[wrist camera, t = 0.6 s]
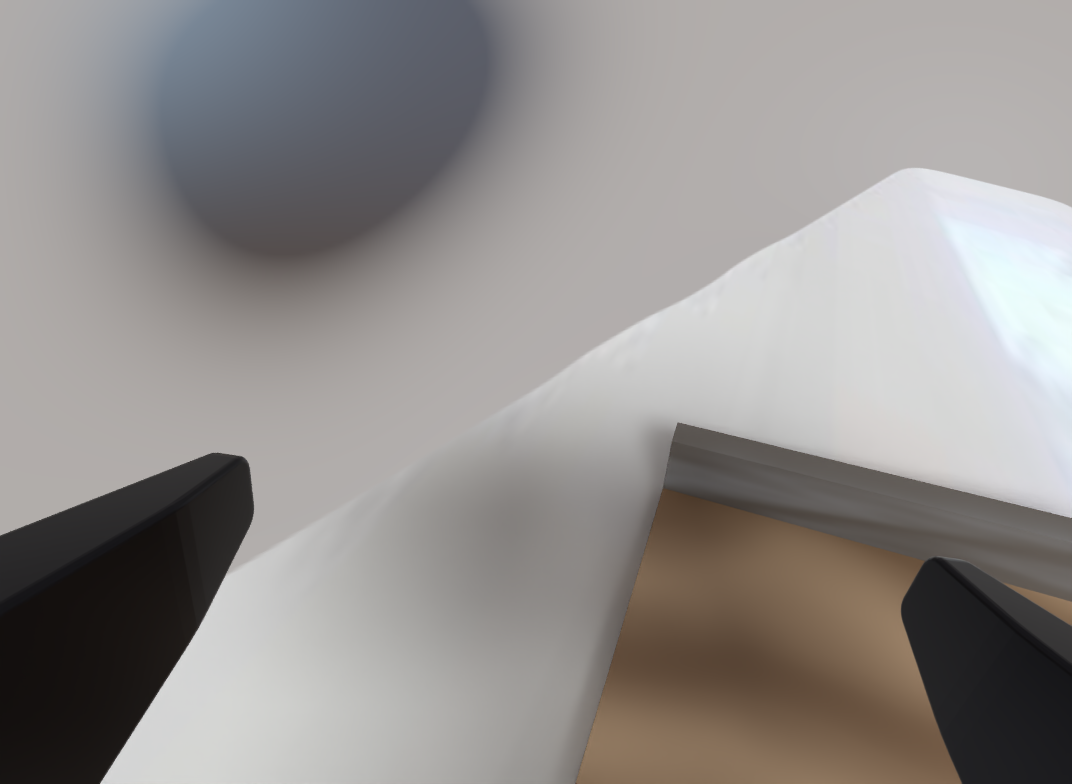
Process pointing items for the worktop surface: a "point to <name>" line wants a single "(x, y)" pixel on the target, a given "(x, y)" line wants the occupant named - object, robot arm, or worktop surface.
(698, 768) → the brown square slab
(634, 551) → the worktop surface
